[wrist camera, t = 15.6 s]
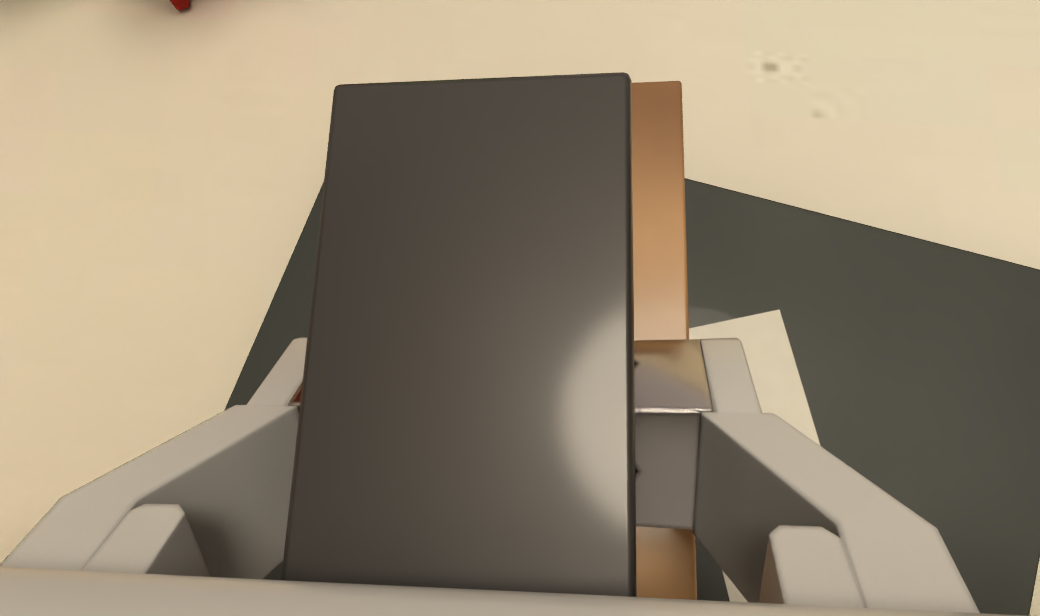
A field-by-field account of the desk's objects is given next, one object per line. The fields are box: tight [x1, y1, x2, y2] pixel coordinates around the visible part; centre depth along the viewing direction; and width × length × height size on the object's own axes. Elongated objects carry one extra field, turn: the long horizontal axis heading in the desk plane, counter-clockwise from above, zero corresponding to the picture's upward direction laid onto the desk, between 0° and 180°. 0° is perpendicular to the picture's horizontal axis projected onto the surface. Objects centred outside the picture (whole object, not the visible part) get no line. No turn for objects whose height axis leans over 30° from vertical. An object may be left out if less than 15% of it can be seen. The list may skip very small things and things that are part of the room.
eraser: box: [281, 73, 697, 600], centre depth 10 cm, size 12×5×8 cm, turn 178°
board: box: [224, 178, 1040, 616], centre depth 15 cm, size 13×16×1 cm
